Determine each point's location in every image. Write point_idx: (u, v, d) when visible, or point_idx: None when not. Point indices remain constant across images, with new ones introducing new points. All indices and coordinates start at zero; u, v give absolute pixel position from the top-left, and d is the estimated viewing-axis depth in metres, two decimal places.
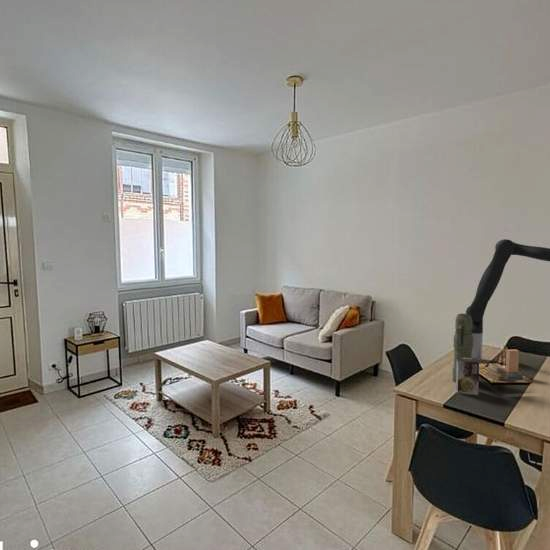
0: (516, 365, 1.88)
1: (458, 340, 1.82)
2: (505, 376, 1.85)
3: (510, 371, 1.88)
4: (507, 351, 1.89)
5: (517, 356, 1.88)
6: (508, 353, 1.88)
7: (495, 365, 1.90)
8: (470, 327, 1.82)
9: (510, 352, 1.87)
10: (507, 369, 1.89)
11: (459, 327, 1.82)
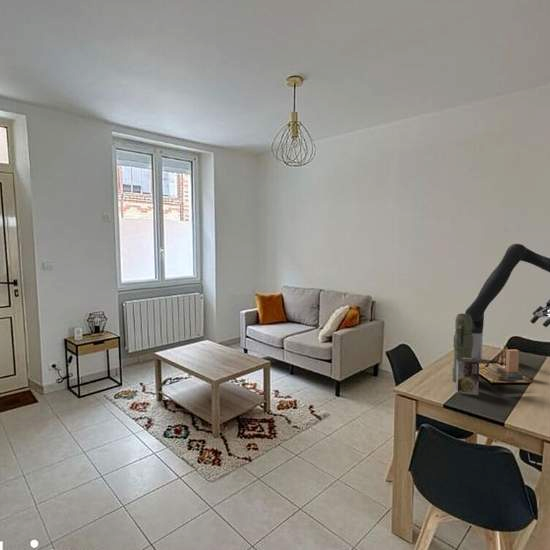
0: (516, 365, 1.88)
1: (458, 340, 1.82)
2: (505, 376, 1.85)
3: (510, 371, 1.88)
4: (507, 351, 1.89)
5: (517, 356, 1.88)
6: (508, 353, 1.88)
7: (495, 365, 1.90)
8: (470, 327, 1.82)
9: (510, 352, 1.87)
10: (507, 369, 1.89)
11: (459, 327, 1.82)
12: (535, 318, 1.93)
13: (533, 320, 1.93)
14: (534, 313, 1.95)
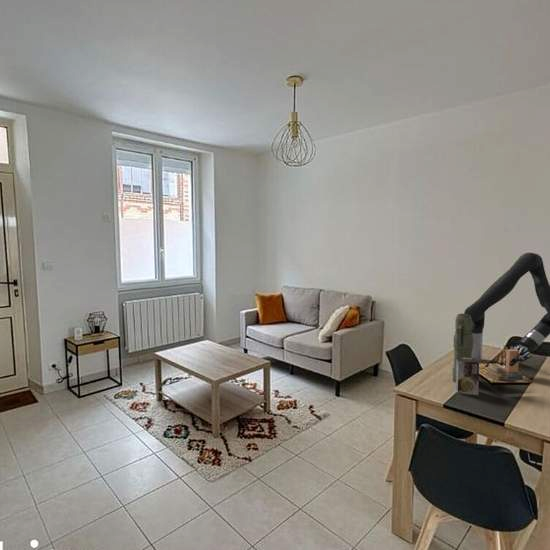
0: (516, 365, 1.88)
1: (458, 340, 1.82)
2: (505, 376, 1.85)
3: (510, 371, 1.88)
4: (507, 351, 1.89)
5: None
6: (508, 353, 1.88)
7: (495, 365, 1.90)
8: (470, 327, 1.82)
9: (510, 352, 1.87)
10: (507, 369, 1.89)
11: (459, 327, 1.82)
12: None
13: None
14: None
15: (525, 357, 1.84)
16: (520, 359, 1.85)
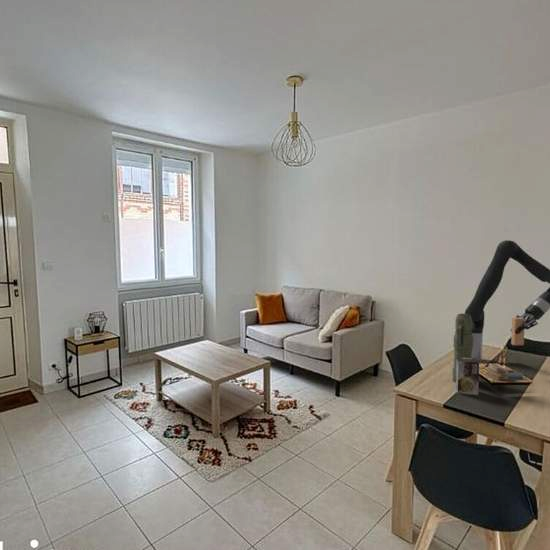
0: (522, 333, 1.90)
1: (458, 340, 1.82)
2: (505, 376, 1.85)
3: (516, 339, 1.90)
4: (513, 319, 1.91)
5: None
6: (514, 321, 1.90)
7: (495, 365, 1.90)
8: (470, 327, 1.82)
9: (516, 320, 1.89)
10: (513, 337, 1.91)
11: (459, 327, 1.82)
12: None
13: None
14: None
15: (531, 324, 1.85)
16: (526, 326, 1.86)
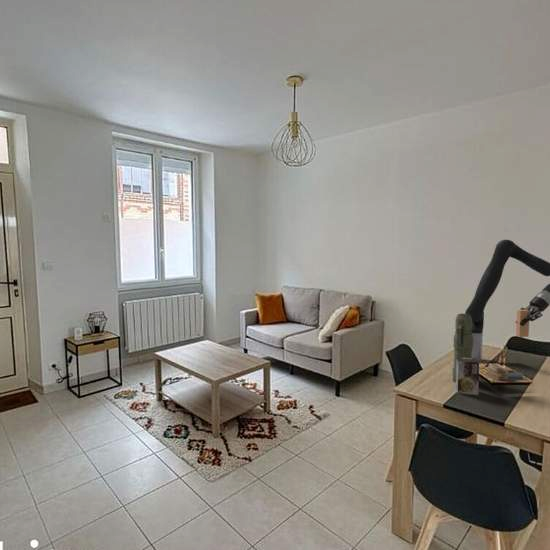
0: (527, 325, 1.92)
1: (458, 340, 1.82)
2: (505, 376, 1.85)
3: (521, 331, 1.92)
4: (518, 311, 1.93)
5: None
6: (519, 313, 1.92)
7: (495, 365, 1.90)
8: (470, 327, 1.82)
9: (521, 312, 1.92)
10: (518, 329, 1.93)
11: (459, 327, 1.82)
12: None
13: None
14: None
15: (536, 316, 1.88)
16: (531, 318, 1.89)
